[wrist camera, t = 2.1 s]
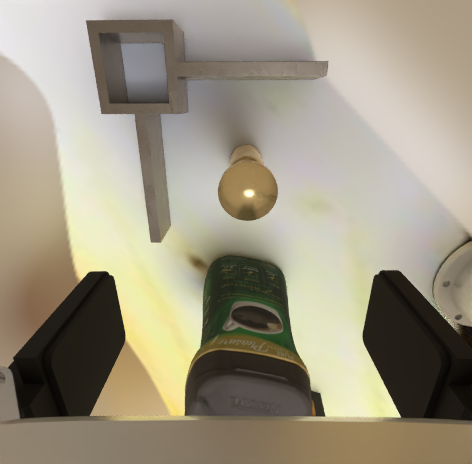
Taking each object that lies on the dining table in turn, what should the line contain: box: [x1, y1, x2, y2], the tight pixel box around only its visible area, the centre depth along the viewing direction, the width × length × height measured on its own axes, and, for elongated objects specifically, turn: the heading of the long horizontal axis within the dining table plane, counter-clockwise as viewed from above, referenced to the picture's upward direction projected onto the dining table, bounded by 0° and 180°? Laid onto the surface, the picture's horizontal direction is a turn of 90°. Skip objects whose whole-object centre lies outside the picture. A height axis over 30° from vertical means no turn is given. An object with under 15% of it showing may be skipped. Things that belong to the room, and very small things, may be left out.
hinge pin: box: [218, 145, 278, 221], centre depth 26 cm, size 4×4×12 cm
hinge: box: [86, 20, 328, 243], centre depth 28 cm, size 19×19×4 cm
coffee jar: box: [185, 256, 312, 417], centre depth 29 cm, size 10×8×19 cm
